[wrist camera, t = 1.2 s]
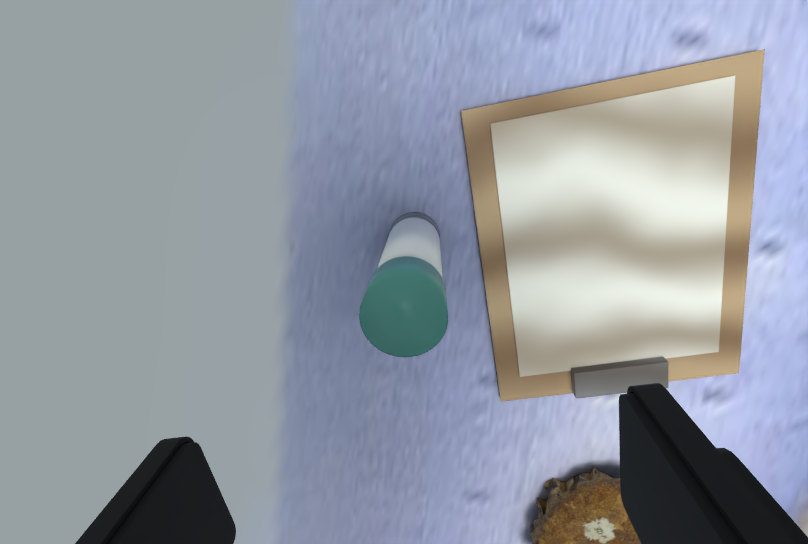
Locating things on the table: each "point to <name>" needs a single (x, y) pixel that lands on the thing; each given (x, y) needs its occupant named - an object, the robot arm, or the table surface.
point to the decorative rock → (583, 512)
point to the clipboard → (617, 227)
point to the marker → (407, 291)
